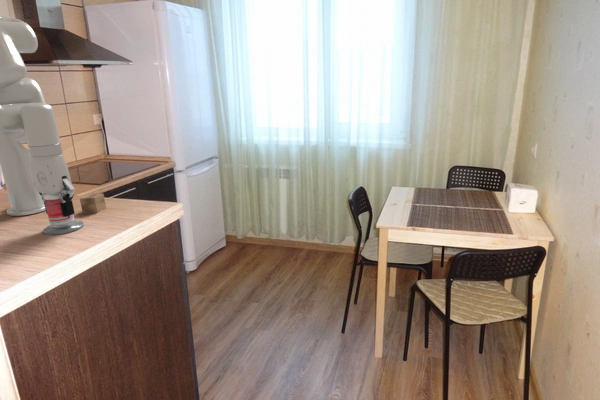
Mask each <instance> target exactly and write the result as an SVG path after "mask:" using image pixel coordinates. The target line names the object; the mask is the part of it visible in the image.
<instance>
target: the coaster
mask: <svg viewBox="0 0 600 400" xmlns="http://www.w3.org/2000/svg"><path fill="white" fill-rule="evenodd" d="M84 226H85V225H84V222H83V221H81V220H75V219H74V221H72V222H71V223H68V224H64V225H58V226H54V225H51V224H50V225H47V226H46V227H44V228H43V230H42V232H43V234H44V235H46V236H59V235H65V234H69V233H73V232H75V231H79V230H80V229H81V228H83V227H84Z"/></svg>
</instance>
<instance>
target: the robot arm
mask: <svg viewBox="0 0 600 400" xmlns="http://www.w3.org/2000/svg"><path fill="white" fill-rule="evenodd" d="M38 47H39V43H38V38H37V35H36V33H35V31H34V30H33V28H32V27H31V26H30V25H29V24H28V23H27V22H26V21H25V22H24V21H23V20H21V19H18V18H16V17H12V16H0V169H1V172H2V173H1V174H2V177H3V181H4V184H5V187H6V191H7V195H8V199H7V203H9V204H10V208H8V209H7V210H6V214H7V215H8V216H12V217H13V216H14V217H15V216H16V217H18V216H19V217H20V216H28V215H34V214H38V213H42V212H45V213H46V215H48V213H47V209H46V205H45V201H44V195H45V194H46V193H47V194H58V196H59V198H60V200H61V202H62V203H60V206H61V210H62V214H63V217H67V216H70V215H74V214H75V208H74V204H73V200H74V196H75V193H76V192H77V191H76V188H75V187H74V186H73V183H72V178H71V174H70V171H69V167H68V164H67V162H66V160H65V157H64V153H63V147H62V143H61V139H60V134H59V129H58V124H57V121H56V115H55V111H54V108H53V107H52V105H51V104H48V103H46V99H45V95H44V93H43V91H42V89H41V86H40V85H39V83H38V82H36V80H34V79H33V78H30V77H26V75H27V73H28V70H27V69H28V68H27V66H26V64H25V63H24V59H23V58H22V55H21V54H33V53H36V52H37V50H38ZM25 143H27V146H28V148H26V147H25V146H24V145H23V144H25ZM62 189H64V191H62ZM64 193H66V194H65V196H63V194H64Z"/></svg>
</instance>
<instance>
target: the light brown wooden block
mask: <svg viewBox="0 0 600 400" xmlns="http://www.w3.org/2000/svg"><path fill="white" fill-rule="evenodd" d="M79 202H80V206H81V211H82V214H98V213H100V212H102V211H104V210H105V209H106V208H107V205H106V199H105V195H104V193H87V194H86V195H83V196H82V197H80V198H79ZM101 210H102V211H101Z"/></svg>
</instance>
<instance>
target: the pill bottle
mask: <svg viewBox="0 0 600 400" xmlns="http://www.w3.org/2000/svg"><path fill="white" fill-rule="evenodd" d="M62 191H64V189H62ZM65 194H66V193H64V194H63V196H65ZM44 201H45V205H46V209H47V213H48V214H47V213H46V214H47V218H48V222H49V224H50V225H54V226H58V225H64V224H68V223H71V222H72V221H74V220H75V215H74V214H73V215H70V216H67V217H63V214H62V210H61V206H60V203H62V202H61V200H60V198H59V196H58V194H47V193H46V194H45V195H44Z"/></svg>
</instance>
